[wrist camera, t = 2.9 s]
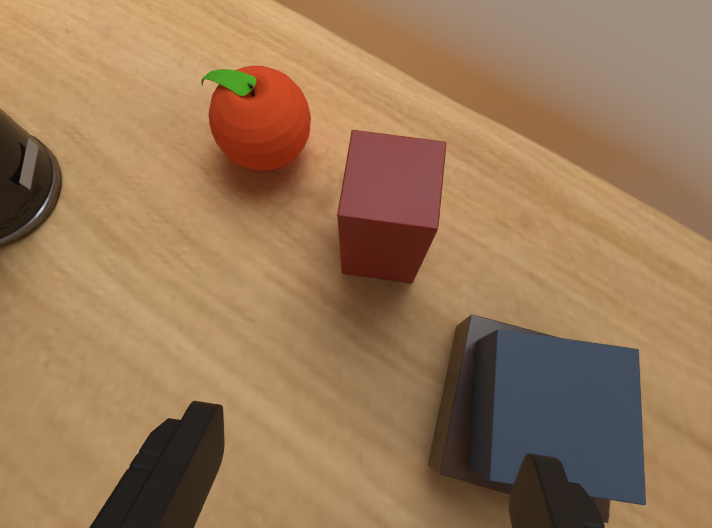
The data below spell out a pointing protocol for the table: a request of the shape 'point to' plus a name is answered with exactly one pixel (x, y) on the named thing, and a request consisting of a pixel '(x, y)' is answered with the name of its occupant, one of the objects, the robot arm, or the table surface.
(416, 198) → the tall red block
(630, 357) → the slate block
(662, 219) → the table surface
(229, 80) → the clementine
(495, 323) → the walnut block
